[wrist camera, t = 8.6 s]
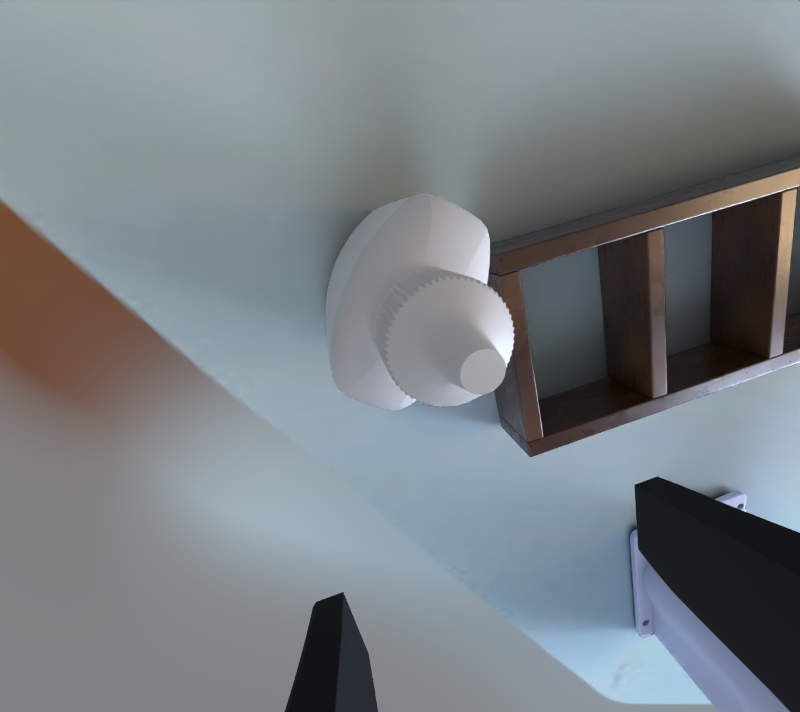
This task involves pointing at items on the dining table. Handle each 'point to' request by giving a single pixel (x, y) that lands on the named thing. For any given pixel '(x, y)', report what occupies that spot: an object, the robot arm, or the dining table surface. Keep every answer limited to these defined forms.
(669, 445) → the dining table surface
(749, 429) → the dining table surface
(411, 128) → the dining table surface
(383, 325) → the eye dropper bottle
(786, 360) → the spice rack
